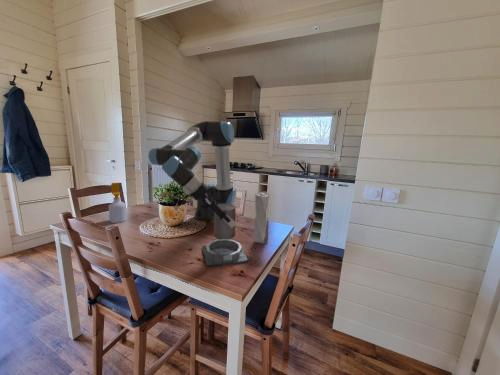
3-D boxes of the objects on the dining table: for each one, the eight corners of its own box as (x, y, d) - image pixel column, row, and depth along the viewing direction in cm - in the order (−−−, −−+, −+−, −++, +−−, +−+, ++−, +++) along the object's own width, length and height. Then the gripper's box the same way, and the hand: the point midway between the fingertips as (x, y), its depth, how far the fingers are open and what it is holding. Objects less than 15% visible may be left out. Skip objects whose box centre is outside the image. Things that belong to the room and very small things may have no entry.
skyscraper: (266, 245, 110) (270, 192, 105) (251, 243, 111) (254, 191, 106) (268, 238, 118) (271, 189, 113) (253, 236, 120) (256, 188, 114)
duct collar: (202, 247, 104) (202, 240, 103) (237, 244, 110) (237, 236, 109) (206, 267, 87) (206, 258, 87) (248, 262, 93) (248, 253, 92)
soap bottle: (110, 224, 127) (107, 184, 123) (108, 219, 134) (105, 181, 130) (127, 221, 133) (125, 183, 128) (125, 217, 140) (122, 180, 135)
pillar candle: (224, 229, 103) (225, 199, 100) (239, 235, 97) (240, 204, 94) (209, 235, 96) (209, 203, 93) (223, 242, 90) (224, 208, 87)
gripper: (187, 188, 98) (220, 219, 106) (190, 200, 78) (231, 237, 86) (199, 177, 99) (231, 208, 107) (205, 186, 78) (244, 224, 86)
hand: (231, 221), depth 96 cm, fingers closed on pillar candle, 9 cm apart
